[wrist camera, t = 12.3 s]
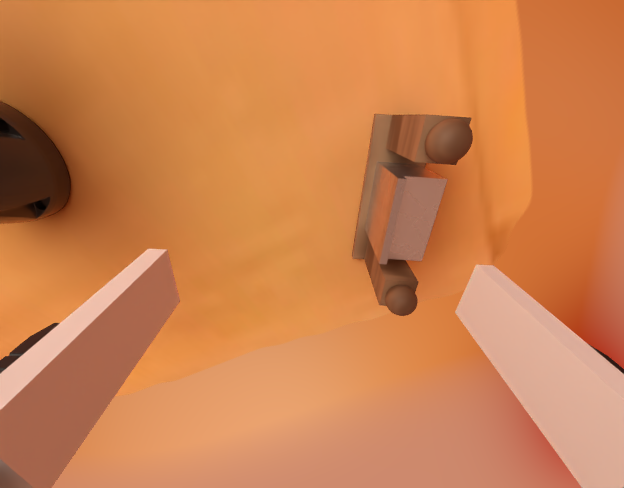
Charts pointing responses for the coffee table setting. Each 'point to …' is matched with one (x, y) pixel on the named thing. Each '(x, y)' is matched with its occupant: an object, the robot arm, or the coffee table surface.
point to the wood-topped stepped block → (402, 210)
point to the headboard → (411, 150)
